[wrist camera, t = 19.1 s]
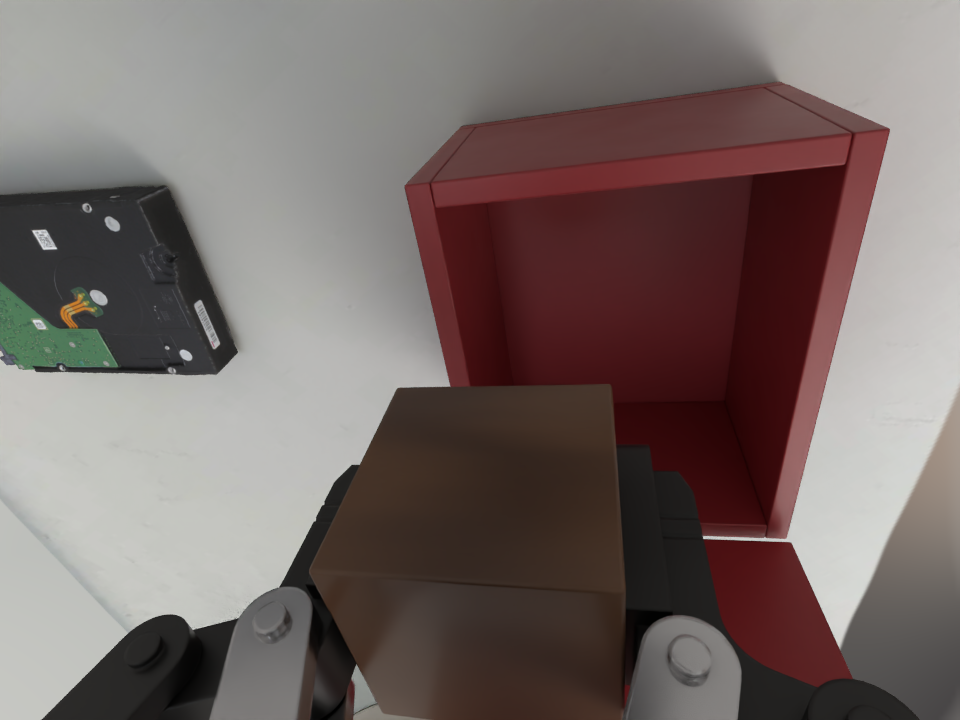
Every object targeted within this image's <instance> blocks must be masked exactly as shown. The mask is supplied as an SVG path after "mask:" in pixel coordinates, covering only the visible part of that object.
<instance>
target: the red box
mask: <svg viewBox="0 0 960 720" xmlns="http://www.w3.org/2000/svg"><path fill="white" fill-rule="evenodd" d="M889 132H890V129H889V128H887V127H884V126H882V125H880V124H877V123H875V122H873V121H871V120H868V119H866V118H864V117H861V116H859V115H857V114H854V113H852V112H850V111H848V110H845V109H843V108H841V107H838V106H836V105H834V104H831V103H829V102H827V101H825V100H822V99H820V98H818V97H815V96H813V95H811V94H808V93H806V92H804V91H802V90H799V89H797V88H795V87H792V86H790V85H787V84H784V83H782V82H774V83H767V84H760V85H753V86H745V87H738V88H731V89H724V90H717V91H710V92H703V93H695V94H688V95H681V96H674V97H667V98H660V99H652V100H645V101H638V102H631V103H624V104H617V105H610V106H602V107H595V108H588V109H581V110H574V111H567V112H560V113H552V114H545V115H538V116H531V117H524V118H517V119H510V120H502V121H495V122H488V123H481V124H474V125H467V126H462V127H460V128H459V130H457V131H456V132H455V133H454V134H453V135H452V137H451V138H450V139H449V140H448V141H447V142H446V143H445V144H444V145H443V146H442V147H441V148H440V149H439V150H438V151H437V152H436V153H435V154H434V155H433V156H432V157H431V159H430V160H429V161H428V162H427V163H426V164H425V165H424V166H423V167H422V168H421V169H420V170H419V171H418V172H417V173H416V174H415V175H414V176H413V177H412V178H411V179H410V181H409V182H408V183H407V184H406V185H405V191H406V196H407V200H408V204H409V209H410V213H411V217H412V222H413V226H414V230H415V235H416V239H417V243H418V248H419V252H420V256H421V261H422V265H423V269H424V274H425V278H426V282H427V287H428V291H429V295H430V300H431V304H432V308H433V313H434V317H435V321H436V326H437V330H438V334H439V339H440V343H441V347H442V352H443V356H444V360H445V365H446V369H447V373H448V378H449V382H450V386H451V387H468V386H525V385H582V384H610V385H611V386H612V392H613V406H614V421H615V436H616V444H649V447H650V453H651V460H652V467H653V471H678V472H679V473H680V475H681V476H682V477H683V479H684V480H685V481H686V482H687V484H688V485H689V486H690V488H691V489H692V490H693V492H694V497H695V501H696V506H697V511H698V518H699V520H700V524H701V529H702V533H703V536H724V537H753V538H764V537H766V538H779V539H786V538H787V534H788V530H789V526H790V522H791V518H792V514H793V511H794V507H795V503H796V499H797V495H798V491H799V487H800V483H801V479H802V475H803V471H804V467H805V463H806V459H807V455H808V451H809V447H810V443H811V440H812V436H813V432H814V428H815V424H816V420H817V416H818V412H819V408H820V404H821V400H822V396H823V392H824V388H825V384H826V380H827V376H828V373H829V369H830V365H831V361H832V357H833V353H834V349H835V345H836V341H837V337H838V333H839V329H840V325H841V321H842V317H843V313H844V309H845V305H846V302H847V298H848V294H849V290H850V286H851V282H852V278H853V274H854V270H855V266H856V262H857V258H858V254H859V250H860V246H861V242H862V238H863V235H864V231H865V227H866V223H867V219H868V215H869V211H870V207H871V203H872V199H873V195H874V191H875V187H876V183H877V179H878V175H879V171H880V167H881V164H882V160H883V156H884V152H885V148H886V144H887V140H888V136H889Z"/></svg>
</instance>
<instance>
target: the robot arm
mask: <svg viewBox="0 0 960 720" xmlns="http://www.w3.org/2000/svg"><path fill="white" fill-rule="evenodd" d="M616 450H617V465H618V480H619V494H620V509H621V524H622V538H623V553H624V568H625V582H626V639H625V685H630V689H629V693H628V697H627V701H626V705H625V709H624V713H623V717H622V720H919V718H918V717H917V716H916V715H915V714H914V713H913V712H912V711H911V710H910V709H909V708H908V707H907V706H906V705H905V704H903V703H902V702H901V701H899V700H898V699H897V698H896V697H894V696H893V695H891V694H889V693H888V692H886V691H884V690H882V689H880V688H879V687H876V686H874V685H872V684H869V683H866V682H864V681H859V680H855V679H844V678H842V679H834V680H830V681H827V682H825V683H823V684H822V685H820V686H819V687H816V686H813V685H810V684H808V683H805V682H803V681H800V680H798V679H795V678H793V677H790V676H788V675H785V674H783V673H780V672H778V671H775V670H773V669H771V668H769V667H767V666H764V665H763V664H761V663H760V662H758V661H756V660H755V659H753V658H752V657H751V656H749V655H748V654H747V653H746V652H744V651H743V650H742V649H741V648H740V647H739V646H738V645H737V643H736V642H735V641H734V640H733V639H732V637H731V636H730V634H729V633H728V631H727V630H726V628H725V626H724V624H723V621H722V618H721V615H720V611H719V607H718V602H717V598H716V593H715V588H714V584H713V579H712V575H711V570H710V565H709V561H708V556H707V552H706V547H705V543H704V539H703V533H702V529H701V524H700V520H699V518H698V511H697V506H696V501H695V497H694V492H693V490H692V489H691V488H690V486H689V485H688V484H687V482H686V481H685V480H684V479H683V477H682V476H681V475H680V473H679V472H678V471H653V467H652V460H651V453H650V447H649V444H616ZM359 466H360V465H351V466H350V467H349V468H348V469H347V470H346V471H345V472H344V473H343V474H342V475H341V476H340V477H339V478H338V479H337V480H336V481H335V482H334V484H333V486H332V488H331V490H330V492H329V494H328V496H327V498H326V500H325V504H324V505H322V507H321V509H320V511H319V513H318V515H317V517H316V522H314V523H313V524H312V526H311V528H310V530H309V532H308V534H307V536H306V538H305V540H304V542H303V544H302V546H301V548H300V549H299V551H298V553H297V555H296V557H295V559H294V561H293V563H292V565H291V567H290V569H289V571H288V572H287V574H286V576H285V578H284V580H283V582H282V584H281V585H280V587H279V588H276V589H273V590H271V591H268V592H266V593H265V594H263V595H261V596H260V597H258V598H257V599H255V600H254V601H253V602H252V603H251V604H250V605H249V606H248V607H247V608H246V609H245V610H244V611H243V613H242V614H241V616H240V617H239V618H238V619H234V620H231V621H227V622H223V623H219V624H215V625H211V626H207V627H203V628H199V629H195V630H192V628H191V627H190V626H189V625H188V623H187V622H186V621H185V620H184V619H183V618H182V617H180V616H177V615H171V614H170V615H162V616H158V617H155V618H152V619H150V620H148V621H146V622H144V623H142V624H141V625H139V626H137V627H136V628H135V629H133V630H132V631H131V632H129V633H128V634H127V635H126V636H125V637H124V638H123V639H122V640H121V641H120V642H119V643H118V644H117V645H116V646H115V647H114V648H113V649H112V650H111V651H110V652H109V653H108V654H107V655H106V656H105V657H104V658H103V659H102V660H101V661H100V662H99V663H98V664H97V665H96V666H95V667H94V668H93V669H92V670H91V671H90V672H89V673H88V674H87V675H86V676H85V677H84V678H83V679H82V680H81V681H80V682H79V683H78V684H77V685H76V686H75V687H74V688H73V689H72V690H71V691H70V692H69V693H68V694H67V695H66V696H65V697H64V698H63V699H62V700H61V701H60V702H59V703H58V704H57V705H56V706H55V707H54V708H53V709H52V710H51V711H50V712H49V713H48V714H47V715H46V716H45V717H44V718H43V719H42V720H353V713H354V697H355V684H354V679H353V677H352V675H353V672H354V669H355V666H356V662H355V660H354V658H353V656H352V654H351V652H350V650H349V648H348V647H347V645H346V643H345V641H344V639H343V637H342V635H341V633H340V631H339V629H338V627H337V626H336V624H335V622H334V620H333V618H332V616H331V614H330V612H329V610H328V608H327V606H326V604H325V603H324V601H323V599H322V597H321V595H320V593H319V591H318V589H317V587H316V585H315V583H314V582H313V580H312V578H311V576H310V574H309V569H310V566H311V564H312V562H313V560H314V558H315V556H316V554H317V552H318V550H319V548H320V546H321V544H322V542H323V540H324V538H325V536H326V534H327V532H328V529H329V527H330V525H331V523H332V521H333V519H334V517H335V515H336V513H337V511H338V509H339V507H340V505H341V503H342V501H343V499H344V497H345V495H346V492H347V490H348V488H349V486H350V484H351V482H352V480H353V478H354V476H355V474H356V472H357V470H358V468H359Z"/></svg>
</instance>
